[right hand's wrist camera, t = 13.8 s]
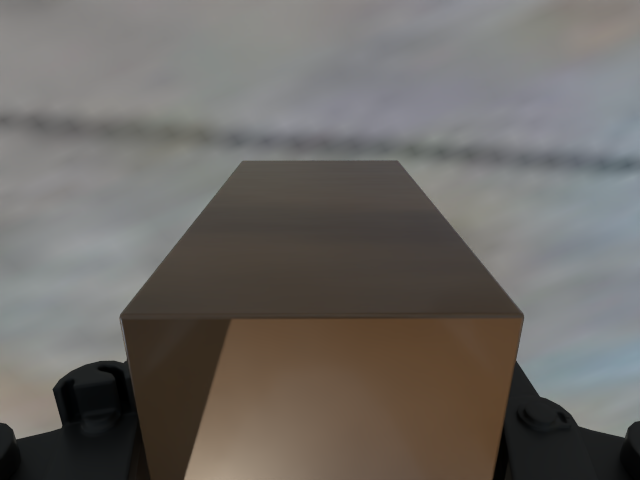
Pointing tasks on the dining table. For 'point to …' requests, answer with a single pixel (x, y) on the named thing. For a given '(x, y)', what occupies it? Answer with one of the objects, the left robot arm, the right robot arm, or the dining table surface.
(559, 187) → the dining table surface
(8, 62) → the dining table surface
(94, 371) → the right robot arm
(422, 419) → the bar
